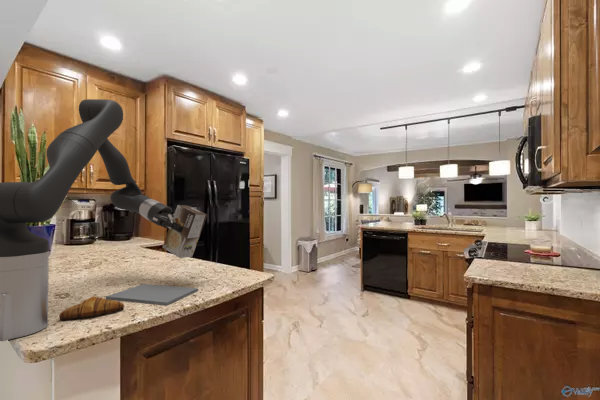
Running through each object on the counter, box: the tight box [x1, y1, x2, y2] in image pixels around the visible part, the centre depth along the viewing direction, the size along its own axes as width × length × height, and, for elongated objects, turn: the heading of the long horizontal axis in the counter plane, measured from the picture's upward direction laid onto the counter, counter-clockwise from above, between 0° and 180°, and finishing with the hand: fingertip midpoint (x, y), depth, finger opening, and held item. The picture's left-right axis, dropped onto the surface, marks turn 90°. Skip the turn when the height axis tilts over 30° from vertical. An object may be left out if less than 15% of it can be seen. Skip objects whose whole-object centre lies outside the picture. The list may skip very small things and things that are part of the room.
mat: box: [105, 283, 199, 306], centre depth 88 cm, size 14×22×1 cm, turn 74°
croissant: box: [58, 295, 125, 321], centre depth 73 cm, size 14×7×5 cm, turn 120°
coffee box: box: [162, 204, 208, 259], centre depth 99 cm, size 9×6×16 cm
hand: (189, 229), depth 98 cm, fingers closed on coffee box, 6 cm apart
